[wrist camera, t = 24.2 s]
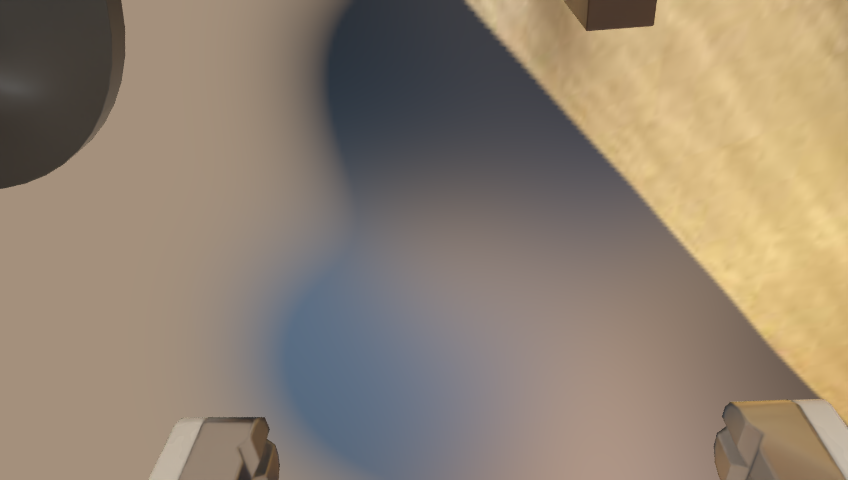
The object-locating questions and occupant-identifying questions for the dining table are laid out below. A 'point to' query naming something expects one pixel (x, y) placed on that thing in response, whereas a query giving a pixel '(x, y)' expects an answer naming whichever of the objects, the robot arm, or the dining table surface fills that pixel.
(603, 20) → the stick
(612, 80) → the dining table surface
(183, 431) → the robot arm
